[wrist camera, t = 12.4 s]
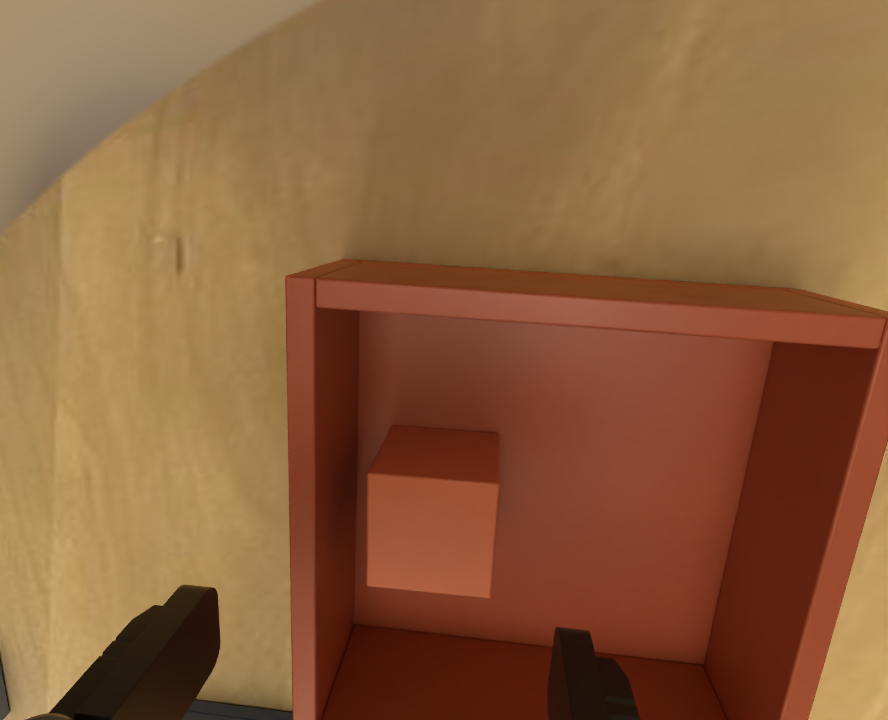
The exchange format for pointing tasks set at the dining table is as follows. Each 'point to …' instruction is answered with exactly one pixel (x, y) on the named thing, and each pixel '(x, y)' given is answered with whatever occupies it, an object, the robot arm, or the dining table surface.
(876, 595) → the dining table surface
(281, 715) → the blue bin
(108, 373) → the dining table surface
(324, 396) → the terracotta bin
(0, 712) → the blue block
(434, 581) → the terracotta block
